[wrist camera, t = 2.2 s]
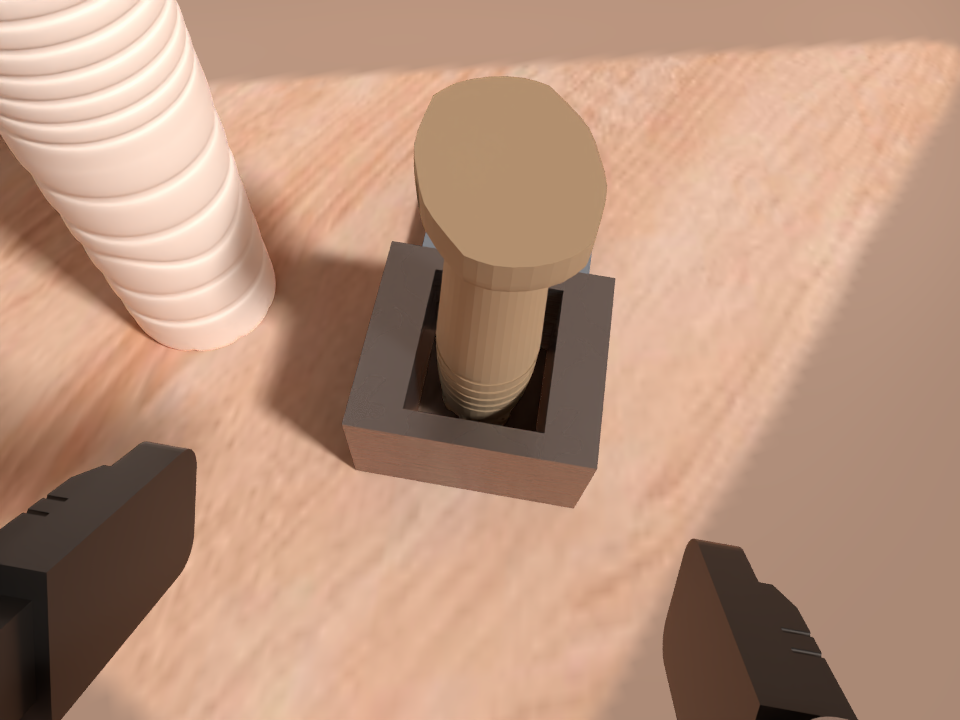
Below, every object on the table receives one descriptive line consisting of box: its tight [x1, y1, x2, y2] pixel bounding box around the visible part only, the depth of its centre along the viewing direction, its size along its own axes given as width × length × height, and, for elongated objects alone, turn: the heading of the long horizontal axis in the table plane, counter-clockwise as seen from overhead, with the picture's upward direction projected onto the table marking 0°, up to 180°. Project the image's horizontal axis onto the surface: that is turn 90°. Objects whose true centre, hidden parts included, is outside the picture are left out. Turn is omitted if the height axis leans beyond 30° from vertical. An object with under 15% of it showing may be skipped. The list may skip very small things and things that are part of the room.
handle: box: [414, 76, 607, 426], centre depth 26 cm, size 5×6×15 cm
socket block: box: [342, 241, 615, 508], centre depth 30 cm, size 9×8×5 cm
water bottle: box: [0, 0, 276, 351], centre depth 23 cm, size 9×6×25 cm
